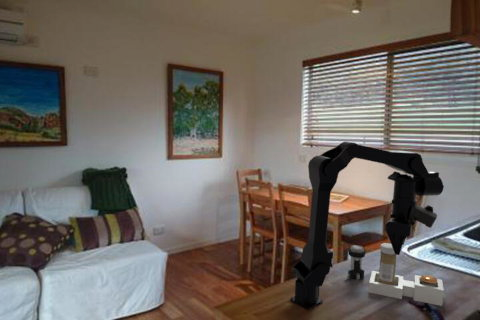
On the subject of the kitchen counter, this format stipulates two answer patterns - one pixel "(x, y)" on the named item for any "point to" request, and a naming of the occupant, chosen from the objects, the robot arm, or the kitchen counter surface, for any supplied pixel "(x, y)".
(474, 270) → the kitchen counter surface
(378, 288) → the housing
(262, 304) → the kitchen counter surface
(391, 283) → the sprinkles bottle
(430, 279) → the copper and black cylinder
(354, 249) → the push button
